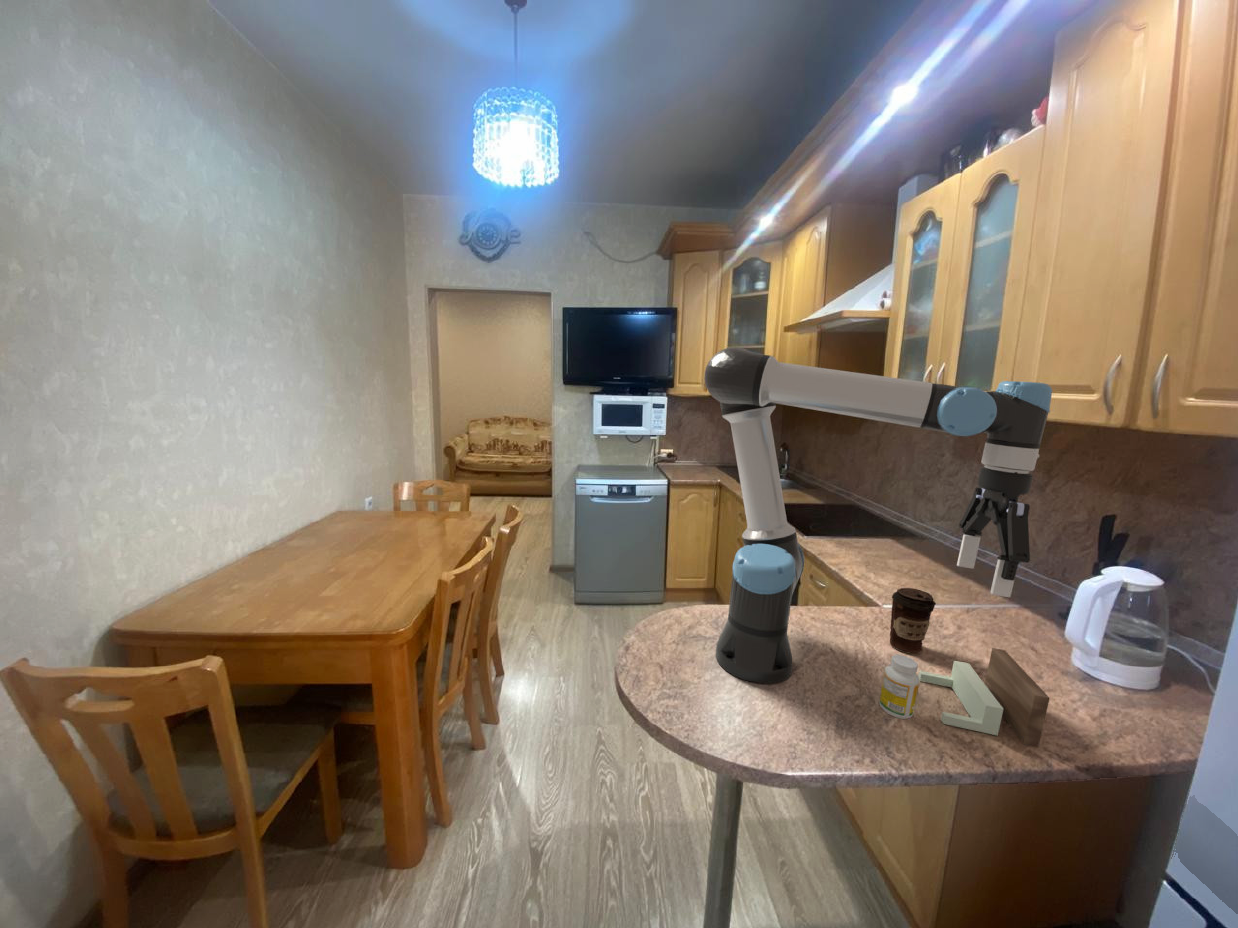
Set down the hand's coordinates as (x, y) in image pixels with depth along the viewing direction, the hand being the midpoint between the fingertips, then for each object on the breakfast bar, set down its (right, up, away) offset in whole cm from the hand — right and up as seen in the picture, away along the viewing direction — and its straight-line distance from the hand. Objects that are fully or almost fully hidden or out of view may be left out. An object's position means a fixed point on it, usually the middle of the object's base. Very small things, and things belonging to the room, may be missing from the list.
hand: (981, 580), depth 90 cm
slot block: (-6, -23, -1) cm, 24 cm away
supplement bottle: (-18, -23, -4) cm, 29 cm away
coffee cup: (-3, -20, +18) cm, 27 cm away
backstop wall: (+2, -24, -4) cm, 24 cm away
